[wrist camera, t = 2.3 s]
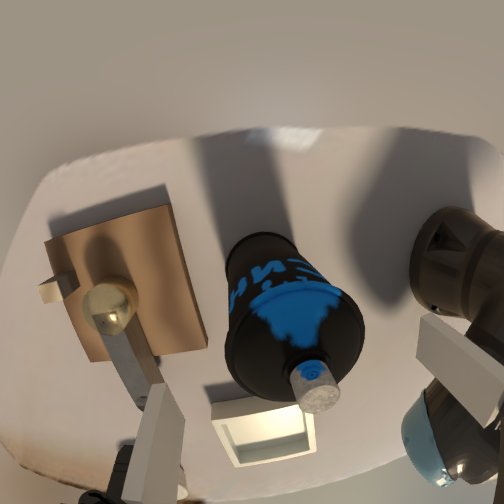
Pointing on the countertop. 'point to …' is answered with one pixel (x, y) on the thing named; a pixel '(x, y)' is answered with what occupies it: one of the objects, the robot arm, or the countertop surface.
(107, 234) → the crank base
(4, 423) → the countertop surface
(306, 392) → the aerosol can
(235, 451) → the tray
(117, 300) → the crank lever
